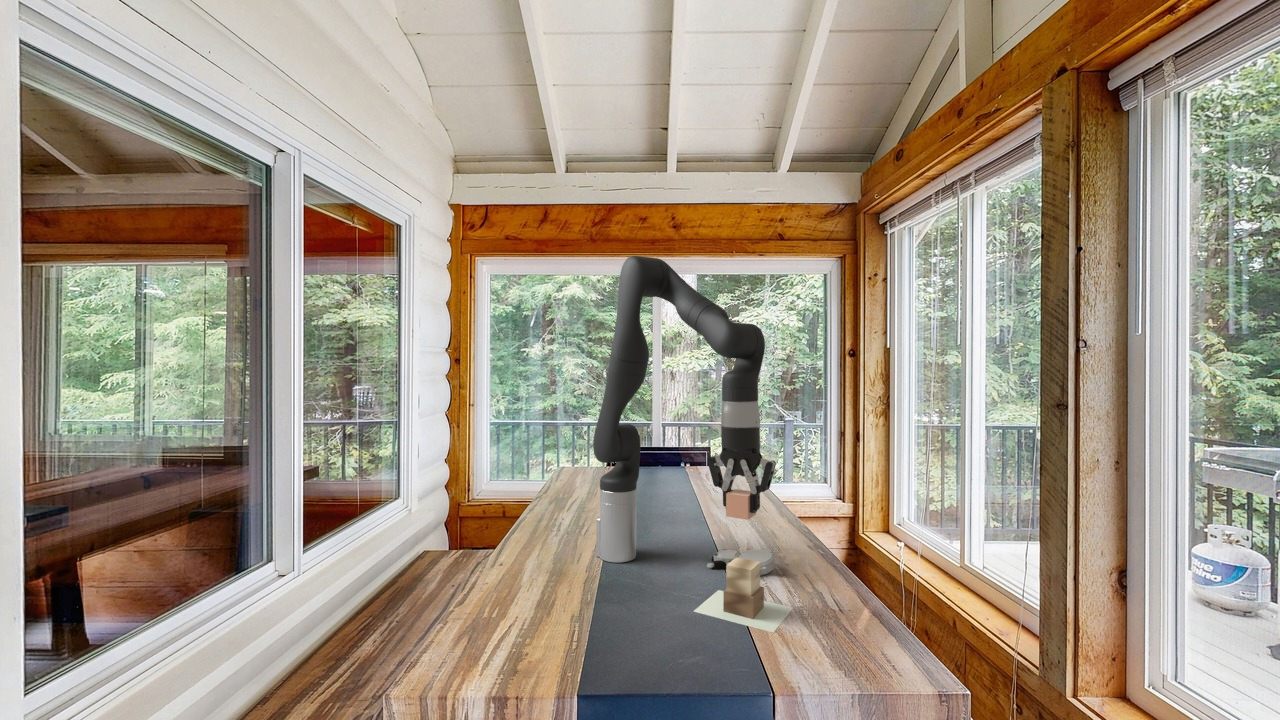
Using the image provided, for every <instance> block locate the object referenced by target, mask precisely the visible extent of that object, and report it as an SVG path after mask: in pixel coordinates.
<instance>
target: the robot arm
mask: <svg viewBox="0 0 1280 720" xmlns="http://www.w3.org/2000/svg"><path fill="white" fill-rule="evenodd" d="M618 281H619V282H618V294H617V307H616V308H617V309H616V319H615V325H614V333H613V340H612V345H611V350H610V357H609V360H608V368H607V369H608V370H607V376H606V383H605V389H604V394H603V398H602V403H601V408H600V410H599V414H598V418H597V422H596V425H595V426H596V427H595V430H594V435H593V441H592V446H593V447H592V449H593V454H594V457H595V459H596V460H597V461H599V462H600V463H603V464H608V463H615V465H614V467H613V468H612V469H611V470H609V471H608V472H606V473H604V474H603V475H602V476H600V478H599V517H597V518H596V522H595V523H596V529H595V530H596V533H595V535H596V536H595V537H596V539H595V540H596V544H595V545H596V548H595V549H596V550H595V556H596V557H598V558H600V559H601V560H603V561H604V562H608V563H627V562H630V561H633V560H635V559H636V558H637V489H638V488H637V485H638V484H637V483H638V480H639V476H640V464H641V463H640V460H641V436H640V434H639V433H640V432H639V430H638V429H637V427H636V426H635V425H634V424H630V423H621V424H620V422H621V421H620V420H621V418H622V415H623V413H624V410H625V409H626V407H627V406H628V404H629V403H630V402H631V400H632V399H633V397H635V395H636V394H637V392H638V391H639V390H640V388H641V387H642V385H643V383H644V381H645V379H646V376H647V375H646V374H647V371H648V370H647V369H648V363H649V359H650V349H649V345H648V342H647V338H646V336H645V334H644V331H643V327H642V324H641V306H642V301H643V298H660V299H662V300H665V301H666V302H668V303H670V304H672V305H673V306H674V307H675V309H676V310H675V311H676V312H677V314H678V316H679V318H680V319H681V320H682V321H683V322H684V324H686V325H687V326H688V327H690V328H691V329H692V330H694V331H695V332H696V333H698V334H699V335H700V336H702V338H704V340H705V341H706V343H707V344H708V346H710V348H711V350H713V352H715V353H716V354H718V355H719V356H721V357H724V358H726V359H735V360H734V365H733V368H732V369H731V370H729V371H726V372H725V373H724V374H723V376H722V380H721V397H722V398H721V400H722V402H721V408H720V409H721V410H720V428H721V429H720V431H721V435H720V436H721V437H720V440H721V451H720V453H719V454H718V455H712V456H709V457H707V458H706V461H707V465H708V469H709V473H710V475H711V479H712V480H711V481H712V484H713V486H714V487H716V488H720V489H721V490H722V505H723V507H725V509H726V493H728V492H730V491H732V490H733V489H732V487H733V486H734V485H733V484H734V482H735V479H736V477H737V476H741V477H745V480H746V483H748V488H749V491H751V494H750V513H756V514H757V512H758V510H760V508H761V493H764V492H766V491H768V490H769V489H770V488H771V484H772V481H773V476H774V473H775V469H776V465H777V462H776V461H775V460H769V459H766V458H765V457H764V458H763V455H762V453H761V417H760V406H759V405H760V404H759V378H760V377H759V376H760V373H761V369H762V365H763V360H764V357H765V351H766V341H765V337H764V333H763V331H762V329H761V328H760V327H759V326H758V325H756V324H753V323H743V322H742V323H741V322H734V321H732V320H729V318H730V317H729V315H728V313H727V312H726V310H725V309H724V308H722V307H721V306H720V305H718V304H716V303H715V302H713V300H710V299H709V298H707V297H706V296H705V295H703V294H702V293H700V292H699V291H697V290H696V289H694V288H693V287H692V286H691V285H689V283H687V281H686V280H685V279H683V277H681V276H680V275H679V274H678V273H677V272H676V271H675V270H674V269H673V267H671V266H670V265H669V263H667V262H666V261H665V260H663V259H661V258H658V257H648V256H641V255H631V256H629V257H627V258H626V260H625V261H624V262H623V265H622V267H621V270H620V274H619V279H618ZM722 464H723V466H724V467H725V471H724V474H722V471H721V465H722ZM759 466H761V470H762V471H763V474H762V477H761V482H760V481H759V474H758V472H757V469H758V468H759Z"/></svg>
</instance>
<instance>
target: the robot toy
mask: <svg viewBox="0 0 1280 720" xmlns="http://www.w3.org/2000/svg"><path fill="white" fill-rule="evenodd" d="M776 552H777V550H771V551H770V550H767V549H755V548H754V549H748V550H746V551H744V552H742V553H740V552H739V551H738V550H731V549H723V550H719V551H717V552H715V553H714V554H713V555H712V556H711V561H712V562H708V563H707V564H706V567H707V568H708V569H712V568H714V570H723V569H725V568H726V565H727V564H728V563H730V562H731V561H732V560H734V559H735V558H736V557H737V558H742V559H747V560H752V561H757V562H760V577H761V576H765V575H767V574H769V573H770V572H771V571H773V570H774V569H775V567H776V565H775V564H776V562H775V554H774V553H776Z"/></svg>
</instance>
